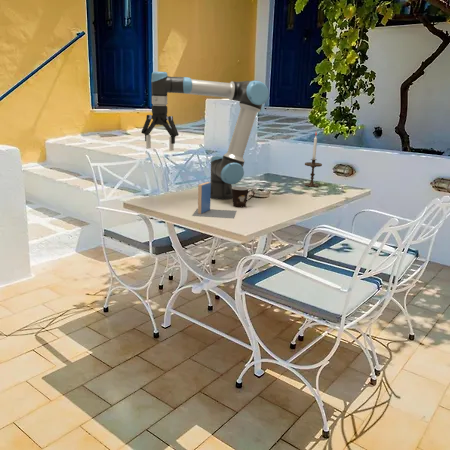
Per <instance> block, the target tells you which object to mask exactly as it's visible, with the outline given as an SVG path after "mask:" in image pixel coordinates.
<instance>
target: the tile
mask: <svg viewBox="0 0 450 450" xmlns="http://www.w3.org/2000/svg"><path fill="white" fill-rule="evenodd" d="M197 187H198V190H197V191H198V193H197V209H198V214H202V213H204V212H206V211H209V210H210V209H211V198H210V197H211V181H206V182H203V183H200V184H198V185H197Z"/></svg>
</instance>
